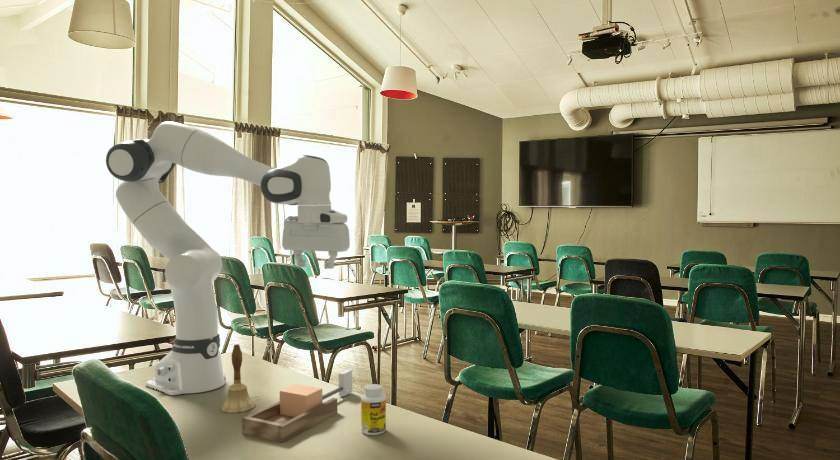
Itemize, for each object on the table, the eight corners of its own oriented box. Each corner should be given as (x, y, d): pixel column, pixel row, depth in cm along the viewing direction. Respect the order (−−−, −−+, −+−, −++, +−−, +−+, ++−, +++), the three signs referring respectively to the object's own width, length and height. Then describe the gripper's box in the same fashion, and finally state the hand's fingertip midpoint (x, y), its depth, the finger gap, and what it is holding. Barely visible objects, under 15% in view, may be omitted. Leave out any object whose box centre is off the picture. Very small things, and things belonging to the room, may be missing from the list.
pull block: (280, 417, 138) (279, 390, 138) (337, 389, 159) (337, 366, 159) (306, 423, 135) (306, 395, 134) (362, 393, 155) (362, 369, 155)
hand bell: (214, 407, 147) (213, 345, 146) (245, 399, 152) (243, 339, 152) (230, 416, 141) (229, 350, 140) (261, 407, 147) (260, 344, 146)
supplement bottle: (368, 438, 127) (368, 392, 126) (356, 430, 131) (356, 385, 131) (390, 432, 130) (390, 387, 129) (378, 424, 134) (378, 381, 134)
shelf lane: (242, 433, 130) (242, 417, 130) (299, 405, 148) (299, 391, 147) (282, 442, 125) (282, 426, 124) (337, 412, 142) (337, 398, 142)
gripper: (276, 216, 157) (277, 267, 158) (338, 216, 148) (339, 270, 149) (291, 215, 163) (292, 264, 164) (352, 216, 154) (353, 268, 154)
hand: (315, 267), depth 156 cm, fingers open, 8 cm apart
